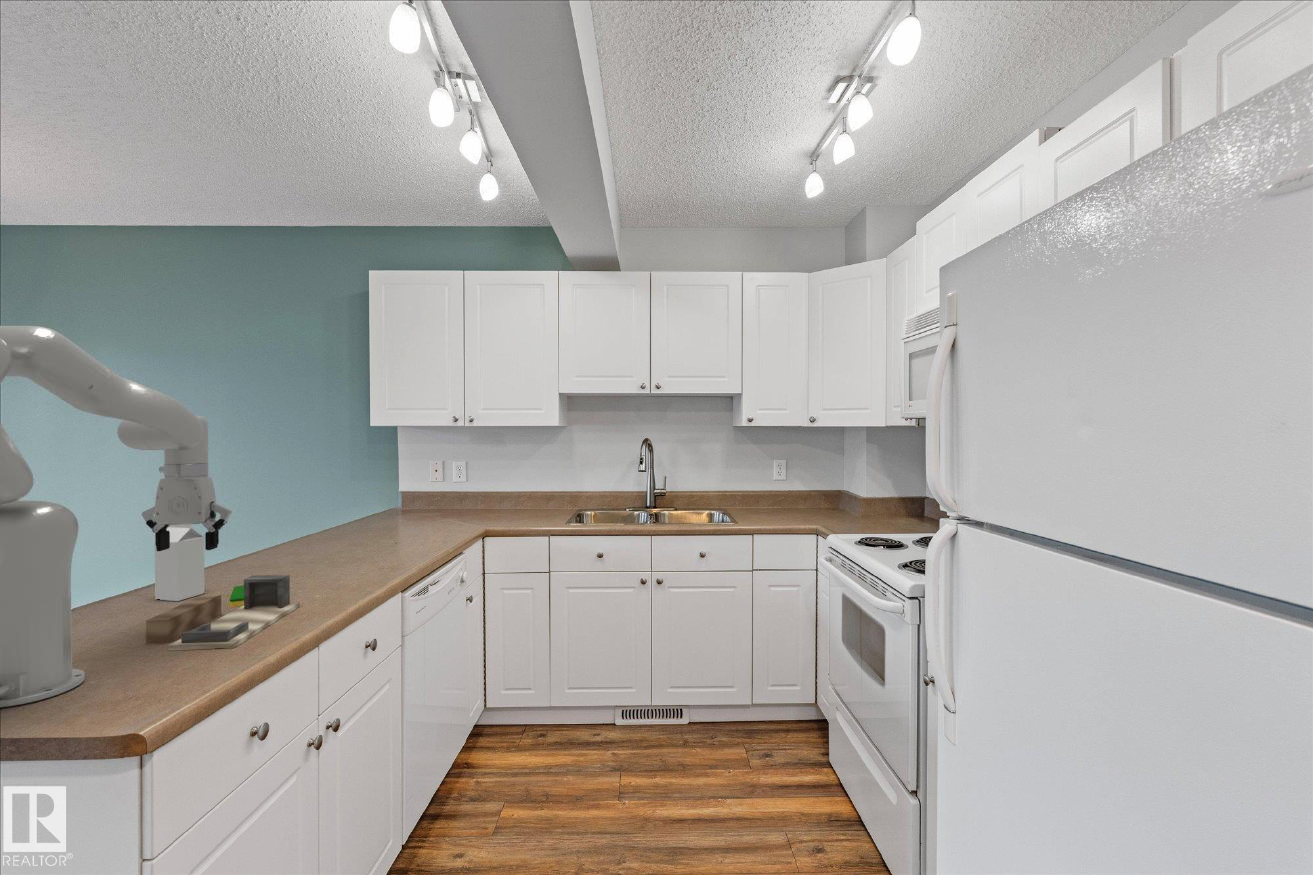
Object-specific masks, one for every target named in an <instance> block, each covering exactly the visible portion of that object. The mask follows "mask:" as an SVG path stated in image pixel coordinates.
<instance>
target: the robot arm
mask: <svg viewBox="0 0 1313 875" xmlns="http://www.w3.org/2000/svg"><path fill="white" fill-rule="evenodd" d="M6 377H22V378H26V379H27V380H30V381H32V382H33V383H34V384H37V385H38V386H40V387H41V388H43V389H45V390H46V391H48V392H49V393H51V394H53V395H55V396H56V397H57V398H59V399H60V400H62V401H64V402H65V403H67V404H68V405H69V406H72V408H74V409H76V410H79V411H81V412H85V413H88V414H92V415H96V416H99V417H105V418H111V419H116V420H122V421H121V422H120V423H119V424H118V426H117V429H116V430H117V431H116V433H117V434H116V435H117V437H118V440H120V442H121V443H122V444H123V445H125V446H126V447H129V448H131V449H135V450H140V451H163V452H164V453H163V454H164V457H163V458H164V461H163V462H164V464H163V465H162V466H159V467H158V472H159V473H163V476H164V477H163V478H160V479H159V480H158V485H157V488H156V494H155V501H154V506H153V507H151V508H149V509H146V510H145V511H142V512H141V516H142V518H143V520H144V521H145V524H146V526H148V527H149V529H151V532H152V533H154V536H155V538H154V546H155V545H156V550H157V551H163V550H166V549H169V548H170V532H169V531H167V528H168V527H169V526H170V525H187V524H191V525H200V524H201V525H202V526H203V527H204V528H205V529H206V530H207V531H206V532H205V534H204V550H206V551H211V550H214V549H215V550H216V548H218V545H219V543H220V540H219V538H220V536H219V534H220V533H219V531H220V530H221V529H222V528H223V527H224V526H225V525H226V524H227V523H228V520H229V519H230V517H231V515H232V510H230V509H228V508H226V507H225V506H222V505H220V504H218V503H217V498H216V491H215V487H214V482H213V479H212V478H213V477H209V422H208V419H207V418H206V417H205V416H202V415H196V414H195V413H194V412H192V411H191V410H190V409H188V407H187V406H185V405H184V404H183V403H181V402H180V401H178V400H176V399H175V398H173V397H171V396H169V395H167V394H165V393H163V392H160V391H158V390H155V389H153V388H150V387H147V386H146V385H143V384H141V383H138V382H136V381H133V380H131V379H128V378H125V377H122V376H120V375H118V374H117V373H115V372H113V370H111V369H110V368H108V367H107V366H105V365H104V364H103V363H101V362H100V361H99V360H98V359H96V358H95V357H93V356H92V355H91V354H89V353H88V352H87V351H85V350H84V349H83V348H82V347H80V346H78V345H77V344H76V343H74V342H73V341H72V340H70V339H69V338H68V337H66V336H64V335H63V334H62V333H60V332H58V331H56V330H55V329H52V328H48V327H44V326H40V325H39V326H37V325H0V386H1V385H2V383H3V381H4V380H5V378H6ZM34 483H35V479H34V473H33V471H32V469H31V467H30V466H29V464H28V463H27V461H26V460H25V458H24V457H23V455H22V453H21V452H20V450H19V449H18V447H17V446H16V444H15V443H14V441H13V440H12V438H11V437H10V436H9V434H8V433H7V431H6V429H5V428H4V426H3V425H2V423H1V421H0V708H6V707H8V708H9V707H14V706H18V705H19V706H20V705H25V704H29V703H33V702H34V703H35V702H38V701H42V700H45V699H48V698H52V697H55V696H57V695H58V696H59V695H61V694H63V693H65V692H68V691H70V690H72V689H74V688H76V687H77V686H79V685H81V684H82V683H83V682H84V681H85V676H86V674H85V671H84V670H83V669H78V668H73V651H72V650H73V646H72V645H73V642H72V641H73V640H72V639H73V638H72V637H73V636H72V587H71V586H72V585H71V584H72V581H71V579H72V578H71V576H72V561H73V556H74V555H73V554H74V551H75V548H76V547H75V546H76V544H77V539H78V534H79V529H80V528H79V522H78V518H77V516H76V514H74V513H73V511H72V510H70V508H68V507H66V506H64V505H62V504H60V503H55V502H51V501H47V500H46V501H44V500H43V501H42V500H20V499H23V498H24V497H25V496H27V495H29V493H30V492H31V491H32V489H33V487H34ZM217 513H218V514H219V519H218V520H216V518H217Z"/></svg>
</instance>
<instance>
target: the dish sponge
mask: <svg viewBox="0 0 1313 875" xmlns="http://www.w3.org/2000/svg"><path fill="white" fill-rule="evenodd" d="M236 606H240V607H242V606H244V584H242V585H235V586H234V587H233V589H232V592H231V595H230V597H229V608H230V607H232V608H237V607H236Z"/></svg>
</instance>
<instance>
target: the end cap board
mask: <svg viewBox="0 0 1313 875" xmlns="http://www.w3.org/2000/svg"><path fill="white" fill-rule="evenodd" d="M290 578H291V576H290V574H266V575H265V574H264V575H263V574H262V575H261V574H260V575H259V574H257V575H251V576H248V577H247V578H244V579H243V585H244V606H240V607H237V609H234V610H233V611H231V612H229V613H226V614H225V615H223V616H221V617H220V618H218V619H216V620H214V621H212V622H206V623H205V624H203V625H201V626H199V627H197V628H195V629H193V630H191V631H186V632H183V633H181V636H180V639H178V640H177V639H176V640H175V641H174V642H172V643H170V644H168V645H167V651H170V652H171V651H191V650H192V651H194V650H196V651H197V650H216V649H215V648H224V649H235V648H237V647H238V646H239V645H241V644H243V643H245V642H246V641H247V640H249V639H251V638H252V637H254V636H256V635H257V634H258V633H260V632H262V631H263V630H265V629H267V628H268V627H270V626H271V625H273V624H274V623H276V622H278V621H279V620H281V619H282V618H284V617H285V616H287V615H289V614H290V613H292V612H293V611H294V610H296V609H298V608H299V607H301V606H300V605H301V604H300V602H299V601H298V602H295V601H294V602H291V601H290V597H291V594H290V593H291V591H290V590H291V589H290V588H291V587H290V586H291V584H290V582H291V581H290V580H291V579H290ZM236 646H237V647H236Z"/></svg>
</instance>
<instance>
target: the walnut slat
mask: <svg viewBox="0 0 1313 875" xmlns="http://www.w3.org/2000/svg"><path fill="white" fill-rule="evenodd" d="M217 616H218V617H220V616H222V594H219V593H218V594H200V595H198V596H196V597H195V598H193V599H191V600H188V601H186V602H184V603H182V604H179V605H177V606H175V607H173V608H169V610H167V611H165V612H162V613H159V614H157V615H155V616H154V617H151V618H148V619H147V620H145V643H146V644H148V643H154V644H168V643H171V642H172V641H175V640H177V639H178V638H181V633H183V632H186V631H191V630H193V629H195V628H196V627H199V626H200V625H203V624H205V623H209V622H210V621H212V620H214V619H216V618H217ZM213 618H214V619H213ZM174 639H175V640H174Z"/></svg>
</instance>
